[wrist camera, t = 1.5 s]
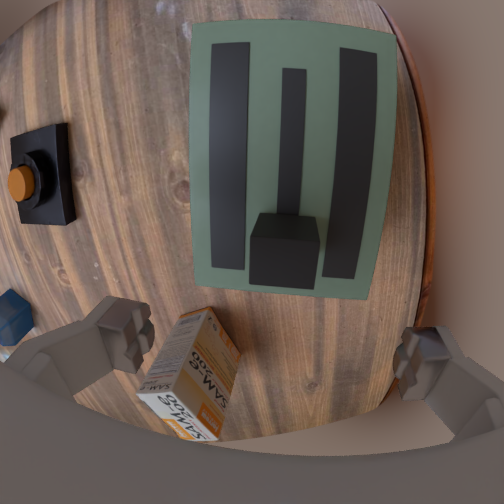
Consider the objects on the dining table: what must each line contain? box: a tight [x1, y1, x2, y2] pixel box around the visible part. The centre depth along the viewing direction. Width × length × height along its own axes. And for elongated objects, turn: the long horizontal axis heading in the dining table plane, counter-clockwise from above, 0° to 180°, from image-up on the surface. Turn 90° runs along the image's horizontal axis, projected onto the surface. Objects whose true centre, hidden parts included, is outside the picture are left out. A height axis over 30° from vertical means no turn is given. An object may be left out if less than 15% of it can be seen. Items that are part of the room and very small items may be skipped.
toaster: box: [189, 19, 397, 300], centre depth 19 cm, size 16×11×11 cm
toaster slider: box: [249, 213, 321, 290], centre depth 14 cm, size 2×3×4 cm
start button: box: [8, 165, 35, 202], centre depth 25 cm, size 4×4×2 cm
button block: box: [10, 123, 76, 226], centre depth 27 cm, size 12×10×4 cm
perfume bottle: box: [0, 289, 34, 346], centre depth 35 cm, size 6×6×12 cm
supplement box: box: [136, 307, 241, 441], centre depth 28 cm, size 8×5×13 cm, turn 25°
